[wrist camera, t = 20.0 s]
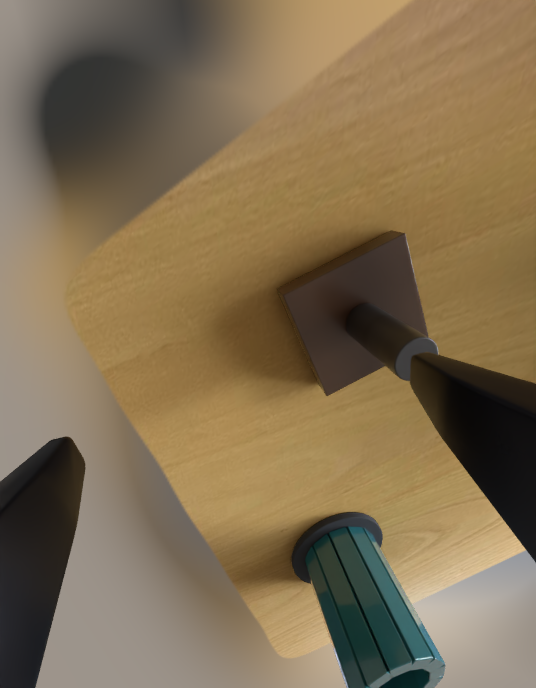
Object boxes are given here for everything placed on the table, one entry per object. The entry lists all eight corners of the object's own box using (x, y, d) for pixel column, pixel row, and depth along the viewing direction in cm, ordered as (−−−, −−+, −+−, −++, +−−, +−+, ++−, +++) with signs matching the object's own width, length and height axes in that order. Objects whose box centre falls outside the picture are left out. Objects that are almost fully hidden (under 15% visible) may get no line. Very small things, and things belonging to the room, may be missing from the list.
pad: (282, 584, 33) (284, 590, 33) (302, 515, 30) (304, 521, 30) (365, 572, 36) (367, 578, 35) (391, 508, 33) (394, 514, 32)
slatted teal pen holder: (290, 561, 31) (336, 708, 22) (349, 515, 31) (419, 649, 22) (331, 585, 34) (385, 723, 26) (385, 544, 34) (459, 671, 25)
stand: (318, 385, 25) (366, 451, 19) (276, 288, 21) (317, 331, 15) (416, 334, 25) (495, 382, 19) (391, 229, 21) (479, 247, 15)
